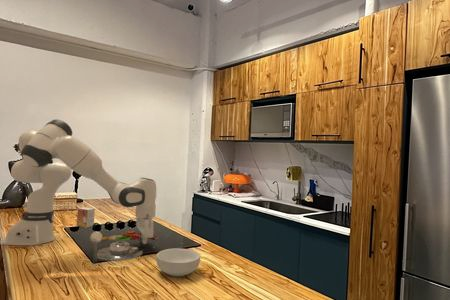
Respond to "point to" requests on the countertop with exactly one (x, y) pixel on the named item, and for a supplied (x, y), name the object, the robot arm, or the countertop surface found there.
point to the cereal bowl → (178, 261)
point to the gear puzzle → (128, 236)
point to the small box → (85, 217)
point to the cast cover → (119, 248)
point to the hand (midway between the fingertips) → (144, 242)
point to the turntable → (133, 253)
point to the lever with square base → (95, 243)
